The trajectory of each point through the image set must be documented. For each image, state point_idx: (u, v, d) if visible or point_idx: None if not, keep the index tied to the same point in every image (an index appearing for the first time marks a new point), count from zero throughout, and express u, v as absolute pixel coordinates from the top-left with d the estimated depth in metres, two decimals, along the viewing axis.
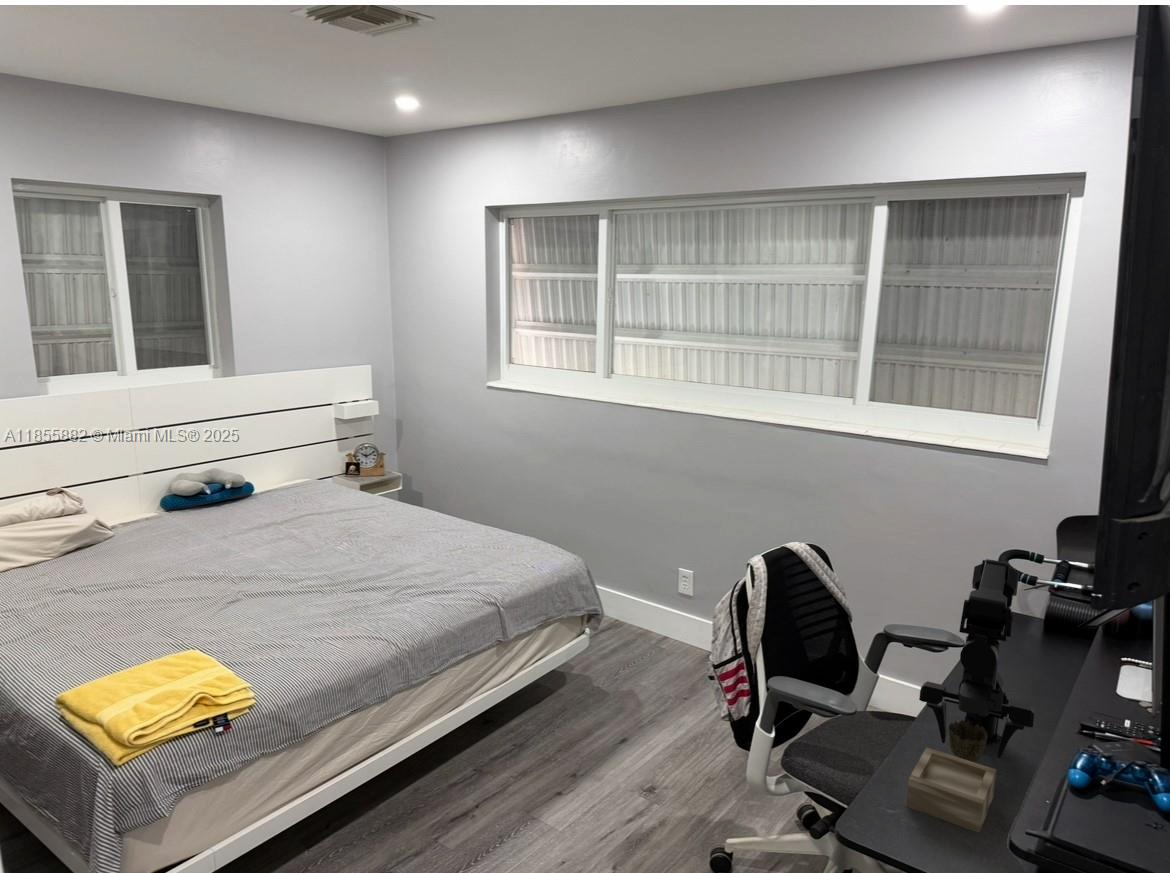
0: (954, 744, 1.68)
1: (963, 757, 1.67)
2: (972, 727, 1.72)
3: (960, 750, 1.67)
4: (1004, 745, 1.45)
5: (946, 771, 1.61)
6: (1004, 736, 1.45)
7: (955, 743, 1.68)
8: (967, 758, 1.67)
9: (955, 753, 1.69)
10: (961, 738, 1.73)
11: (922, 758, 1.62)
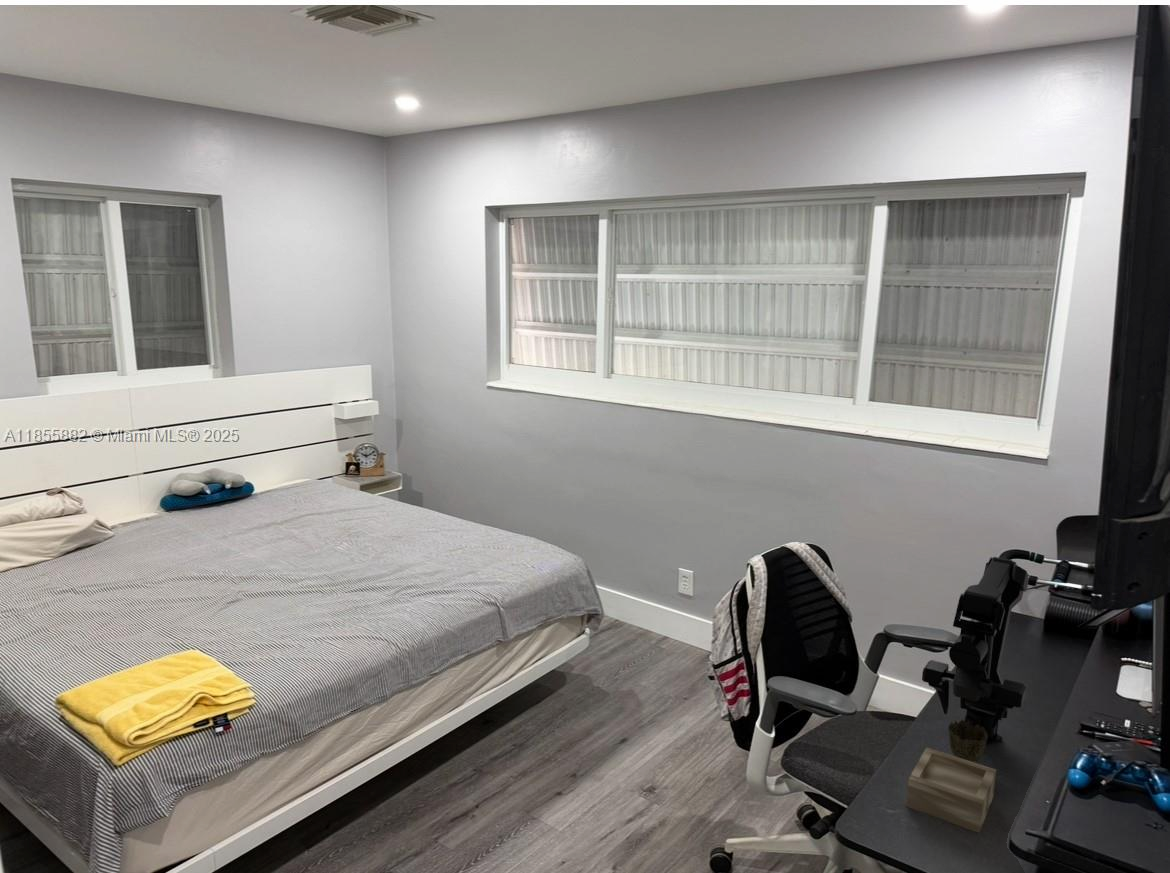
0: (954, 744, 1.68)
1: (963, 757, 1.67)
2: (972, 727, 1.72)
3: (960, 750, 1.67)
4: (997, 719, 1.64)
5: (946, 771, 1.61)
6: (997, 712, 1.64)
7: (955, 743, 1.68)
8: (967, 758, 1.67)
9: (955, 753, 1.69)
10: (961, 738, 1.73)
11: (922, 758, 1.62)
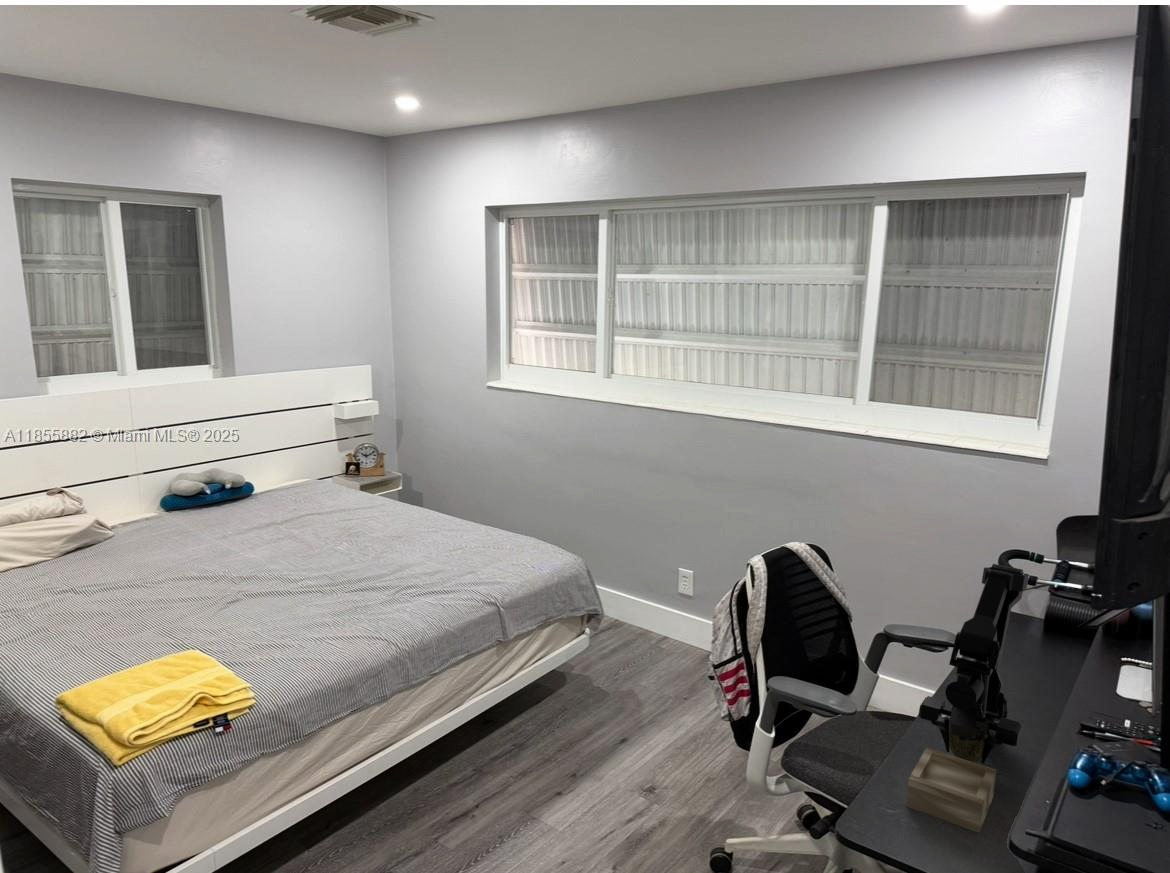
0: (954, 744, 1.68)
1: (963, 757, 1.67)
2: None
3: (960, 750, 1.67)
4: (986, 754, 1.66)
5: (946, 771, 1.61)
6: (986, 747, 1.66)
7: (955, 743, 1.68)
8: (967, 758, 1.67)
9: (955, 753, 1.69)
10: (961, 738, 1.73)
11: (922, 758, 1.62)
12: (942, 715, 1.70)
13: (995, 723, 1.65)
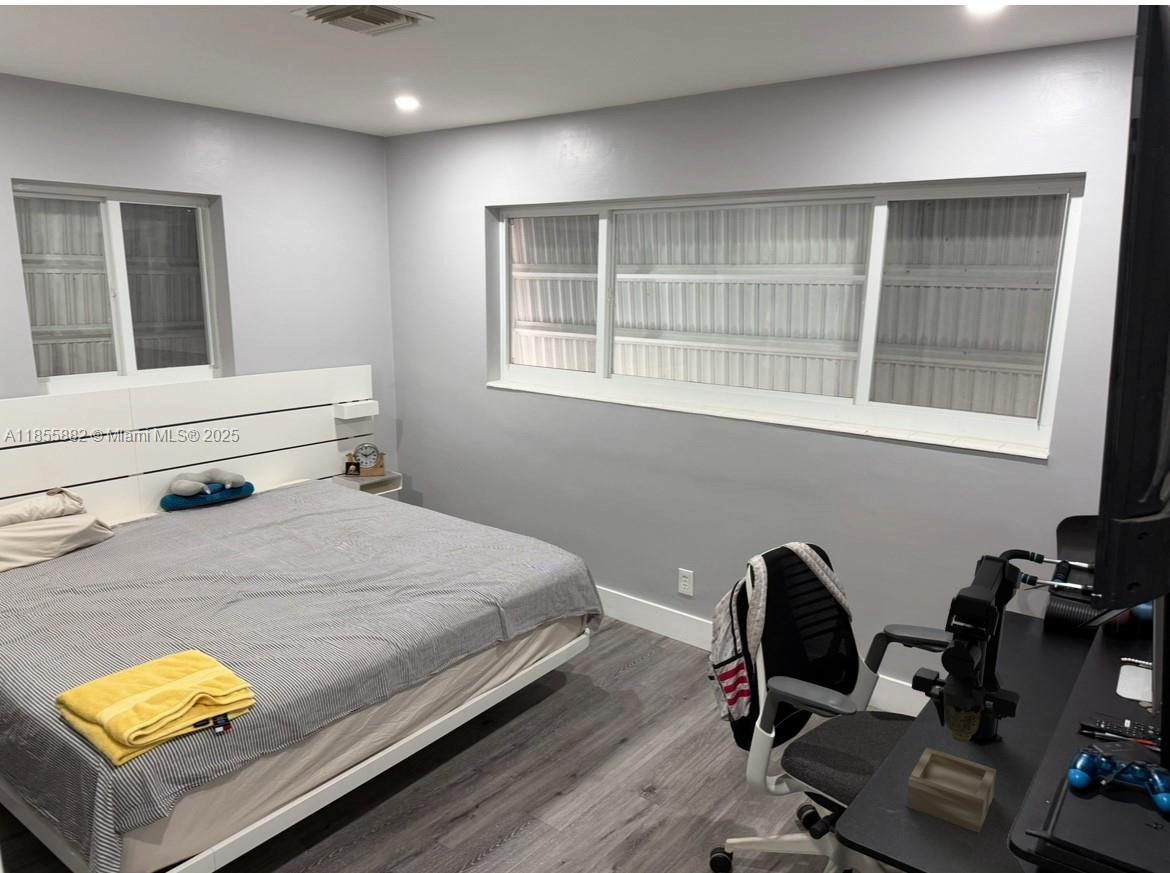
0: (949, 716, 1.58)
1: (958, 730, 1.57)
2: None
3: (956, 723, 1.57)
4: (983, 727, 1.57)
5: (946, 771, 1.61)
6: (983, 720, 1.56)
7: (950, 715, 1.58)
8: (963, 731, 1.57)
9: (950, 726, 1.59)
10: (956, 712, 1.63)
11: (922, 758, 1.62)
12: (936, 686, 1.60)
13: (992, 694, 1.56)
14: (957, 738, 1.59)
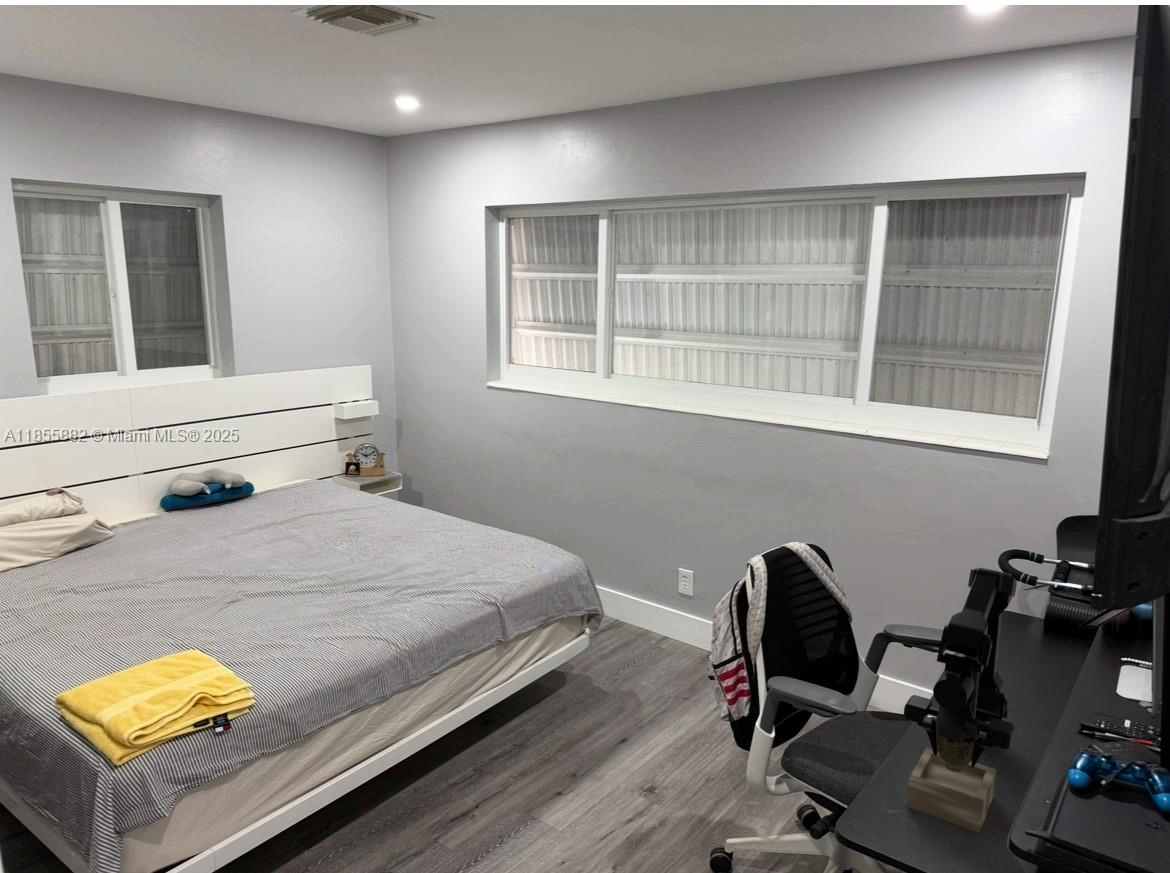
0: (941, 746, 1.55)
1: (951, 761, 1.54)
2: None
3: (949, 753, 1.54)
4: (977, 758, 1.53)
5: (946, 771, 1.61)
6: (976, 750, 1.53)
7: (943, 745, 1.54)
8: (956, 762, 1.54)
9: (943, 756, 1.55)
10: (950, 740, 1.59)
11: (922, 758, 1.62)
12: (929, 715, 1.56)
13: (986, 724, 1.52)
14: (950, 768, 1.55)
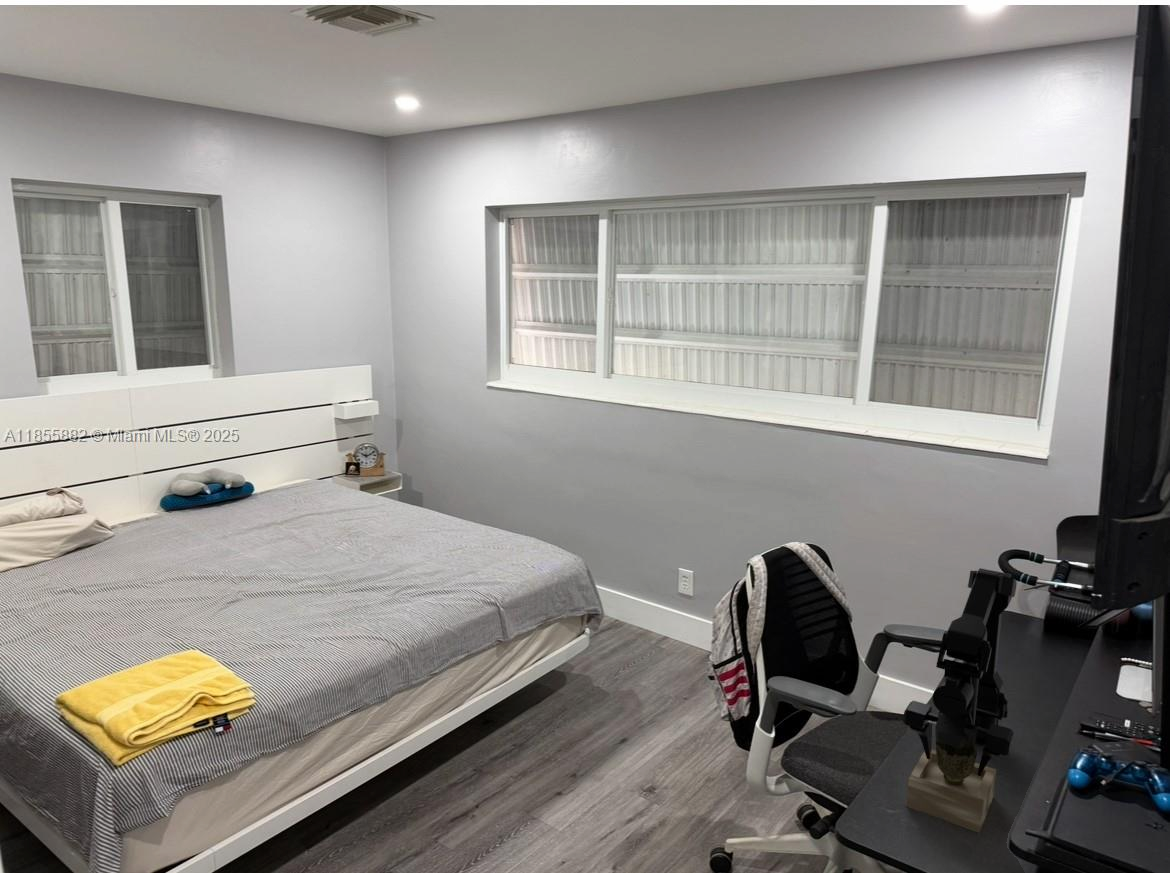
0: (941, 759, 1.55)
1: (951, 774, 1.54)
2: None
3: (948, 766, 1.54)
4: (983, 766, 1.52)
5: None
6: (983, 759, 1.52)
7: (942, 759, 1.55)
8: (955, 775, 1.54)
9: (942, 769, 1.55)
10: (949, 753, 1.60)
11: (922, 758, 1.62)
12: None
13: (985, 730, 1.52)
14: (950, 781, 1.56)
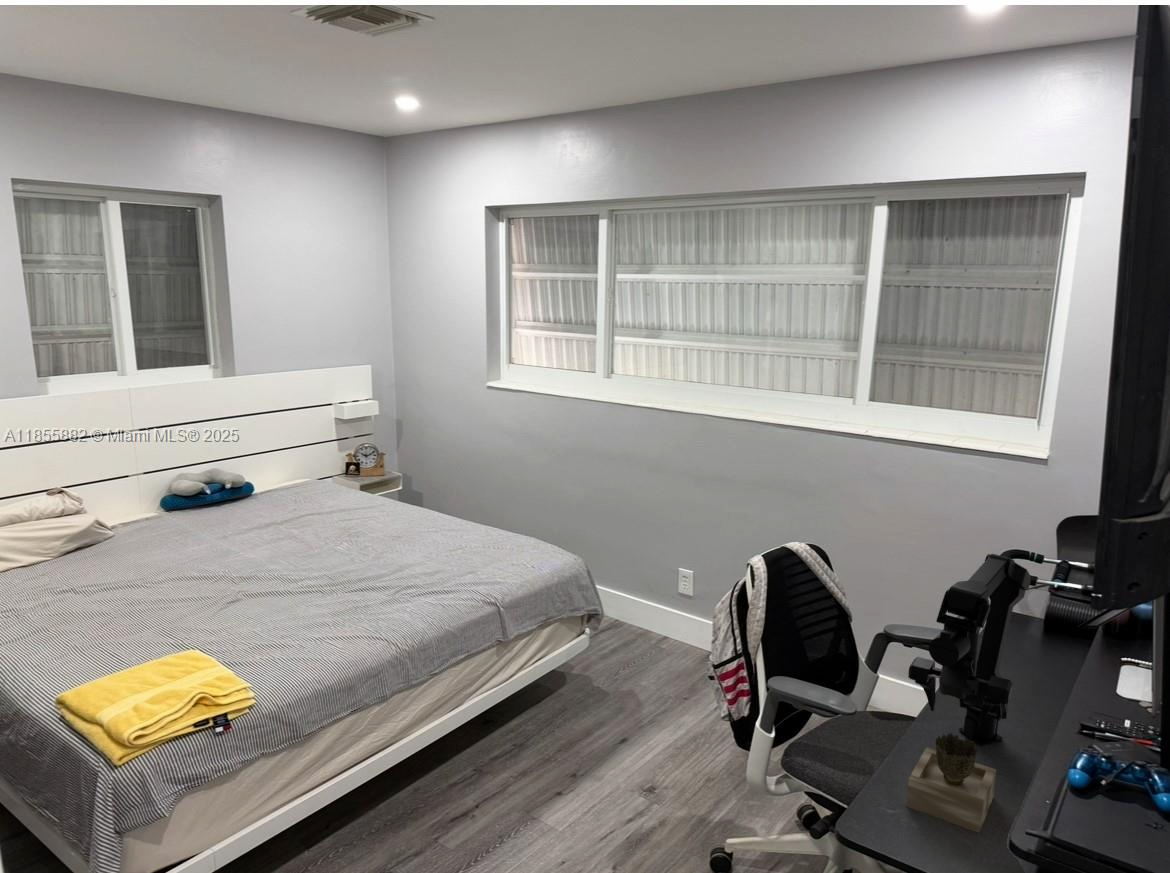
0: (941, 759, 1.55)
1: (951, 774, 1.54)
2: (961, 741, 1.59)
3: (948, 766, 1.54)
4: (984, 715, 1.62)
5: None
6: (984, 708, 1.62)
7: (942, 759, 1.55)
8: (955, 775, 1.54)
9: (942, 770, 1.55)
10: (949, 753, 1.60)
11: (922, 758, 1.62)
12: None
13: (986, 681, 1.62)
14: (950, 781, 1.56)
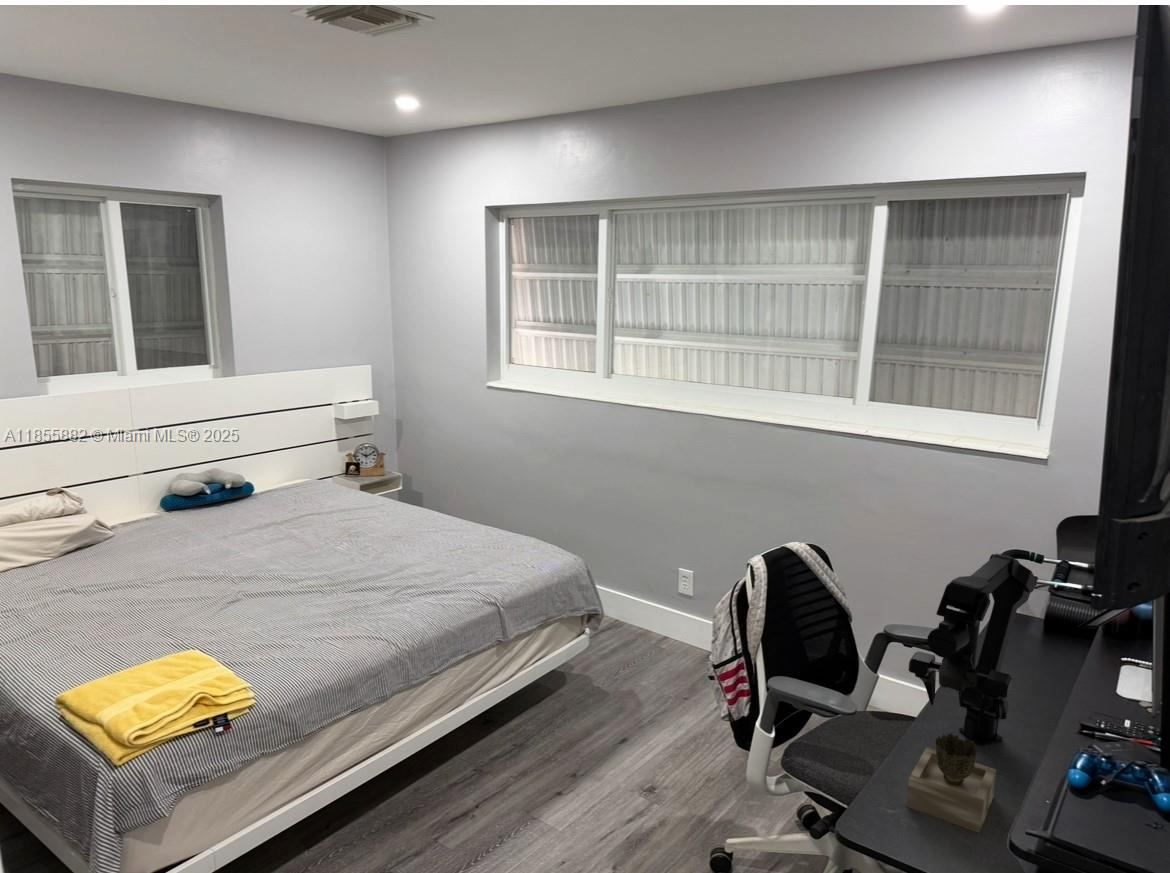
0: (941, 759, 1.55)
1: (951, 774, 1.54)
2: (961, 741, 1.59)
3: (948, 766, 1.54)
4: (983, 709, 1.64)
5: None
6: (983, 702, 1.64)
7: (942, 759, 1.55)
8: (955, 775, 1.54)
9: (942, 769, 1.56)
10: (949, 753, 1.60)
11: (922, 758, 1.62)
12: None
13: (985, 676, 1.64)
14: (950, 781, 1.56)
